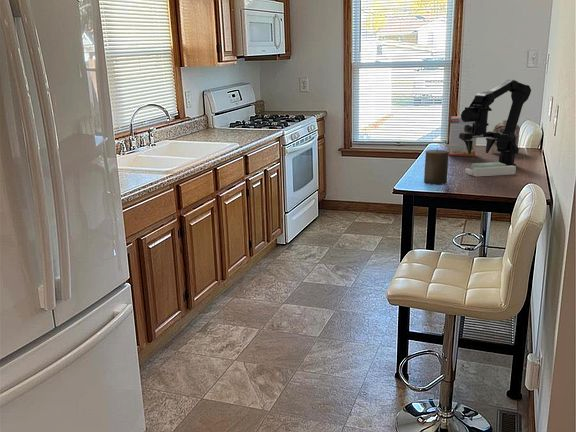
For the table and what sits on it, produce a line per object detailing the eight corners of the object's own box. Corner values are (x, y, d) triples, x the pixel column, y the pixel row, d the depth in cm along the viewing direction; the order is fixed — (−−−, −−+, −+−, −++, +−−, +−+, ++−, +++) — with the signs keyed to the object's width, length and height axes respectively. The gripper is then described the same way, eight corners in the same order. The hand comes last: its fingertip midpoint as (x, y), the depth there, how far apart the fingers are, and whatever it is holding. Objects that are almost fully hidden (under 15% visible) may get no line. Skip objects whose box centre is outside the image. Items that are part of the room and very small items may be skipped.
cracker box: (475, 154, 311) (478, 116, 305) (475, 156, 305) (478, 117, 299) (448, 153, 315) (451, 115, 309) (448, 155, 309) (450, 116, 304)
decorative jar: (490, 153, 314) (493, 120, 309) (496, 150, 323) (499, 118, 318) (512, 155, 308) (516, 122, 303) (518, 152, 317) (521, 120, 312)
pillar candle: (447, 185, 242) (450, 150, 238) (424, 184, 244) (426, 149, 240) (445, 180, 251) (448, 146, 247) (423, 179, 253) (425, 146, 249)
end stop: (505, 170, 271) (505, 163, 270) (516, 174, 262) (516, 166, 261) (464, 172, 266) (465, 165, 265) (474, 176, 258) (475, 169, 257)
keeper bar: (497, 171, 270) (498, 162, 269) (505, 173, 264) (506, 164, 263) (470, 173, 267) (471, 163, 266) (477, 175, 261) (478, 165, 260)
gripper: (489, 118, 278) (486, 150, 282) (454, 119, 274) (452, 151, 278) (502, 120, 268) (499, 153, 272) (466, 122, 264) (463, 155, 268)
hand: (478, 153), depth 273 cm, fingers open, 9 cm apart
